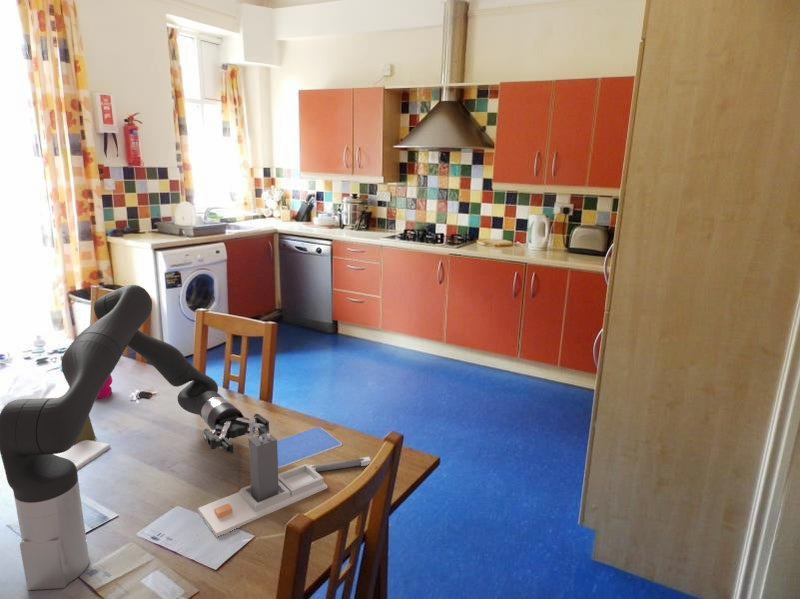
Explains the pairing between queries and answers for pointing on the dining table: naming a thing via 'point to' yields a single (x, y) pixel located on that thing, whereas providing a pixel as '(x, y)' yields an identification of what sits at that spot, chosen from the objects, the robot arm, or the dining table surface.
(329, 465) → the grey bar
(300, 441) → the tablet computer
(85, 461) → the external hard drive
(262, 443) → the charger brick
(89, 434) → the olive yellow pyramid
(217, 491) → the dining table surface
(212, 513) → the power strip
